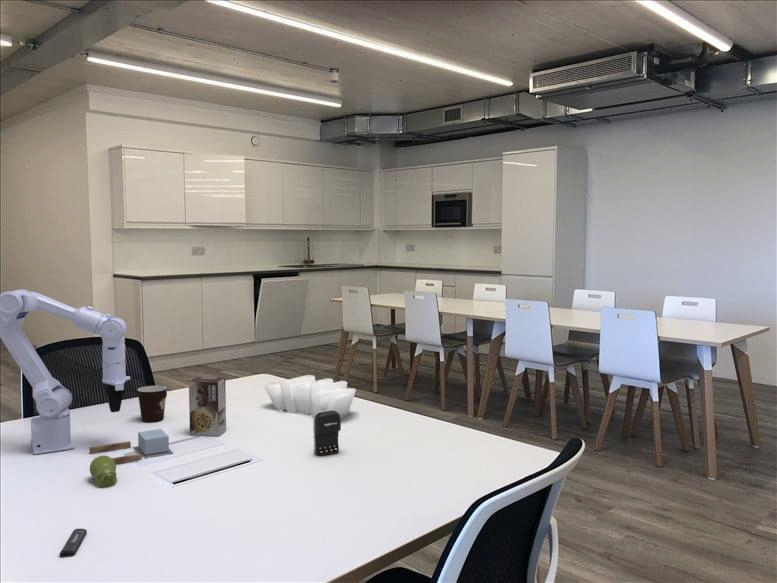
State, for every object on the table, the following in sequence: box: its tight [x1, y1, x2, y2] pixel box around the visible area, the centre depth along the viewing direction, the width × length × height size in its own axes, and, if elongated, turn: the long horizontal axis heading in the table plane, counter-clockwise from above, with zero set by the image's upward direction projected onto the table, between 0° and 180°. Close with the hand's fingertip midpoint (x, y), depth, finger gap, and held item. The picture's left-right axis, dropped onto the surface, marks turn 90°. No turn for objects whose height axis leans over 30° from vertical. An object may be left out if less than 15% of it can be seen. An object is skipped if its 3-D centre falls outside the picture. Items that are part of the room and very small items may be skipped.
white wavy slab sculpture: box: [264, 374, 357, 419], centre depth 209 cm, size 35×16×11 cm, turn 51°
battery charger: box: [312, 410, 342, 456], centre depth 167 cm, size 7×4×11 cm, turn 121°
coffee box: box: [188, 376, 227, 437], centre depth 184 cm, size 9×6×16 cm
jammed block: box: [137, 428, 170, 455], centre depth 168 cm, size 6×8×4 cm
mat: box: [132, 445, 174, 459], centre depth 168 cm, size 8×11×1 cm
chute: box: [89, 440, 142, 466], centre depth 163 cm, size 10×13×2 cm
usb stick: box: [59, 528, 88, 558], centre depth 115 cm, size 10×3×2 cm, turn 13°
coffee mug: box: [137, 385, 168, 424], centre depth 198 cm, size 12×9×10 cm
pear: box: [89, 455, 118, 488], centre depth 146 cm, size 6×5×10 cm
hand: (115, 411), depth 172 cm, fingers closed
